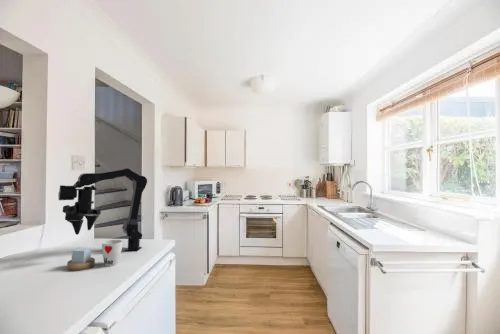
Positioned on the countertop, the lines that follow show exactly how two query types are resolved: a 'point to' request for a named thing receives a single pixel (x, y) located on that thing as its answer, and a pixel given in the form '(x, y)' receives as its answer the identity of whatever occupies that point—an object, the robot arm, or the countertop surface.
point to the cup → (111, 251)
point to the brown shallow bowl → (80, 265)
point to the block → (81, 255)
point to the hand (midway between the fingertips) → (83, 232)
